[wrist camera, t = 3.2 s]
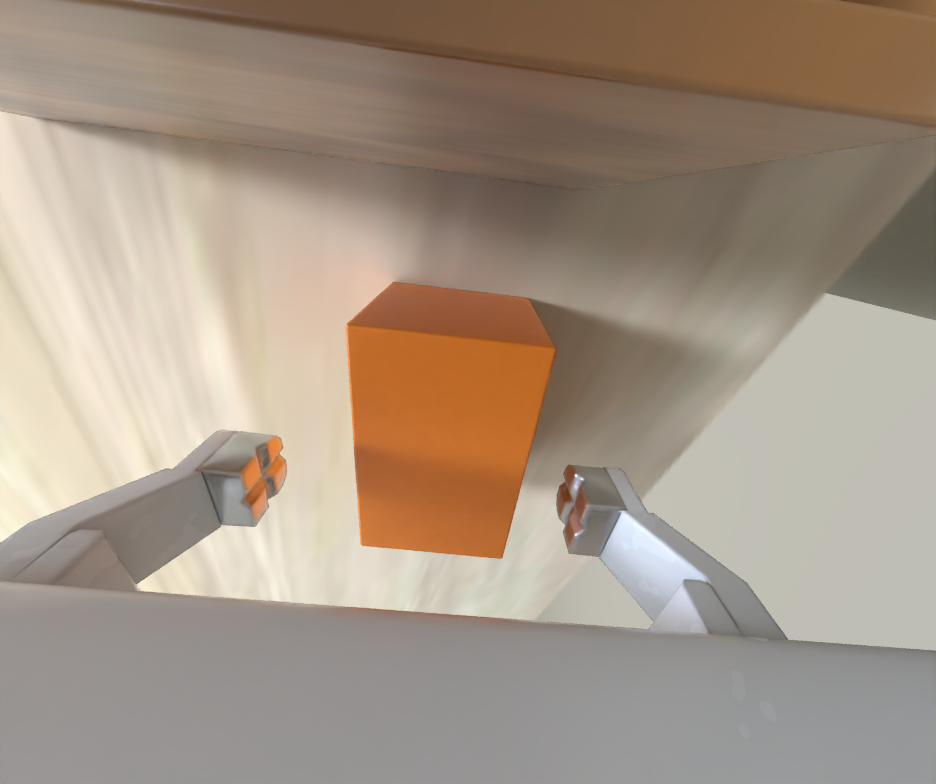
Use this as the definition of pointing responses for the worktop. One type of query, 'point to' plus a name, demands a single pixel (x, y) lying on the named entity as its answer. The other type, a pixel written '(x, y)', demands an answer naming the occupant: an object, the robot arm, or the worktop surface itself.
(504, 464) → the orange block
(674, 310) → the worktop surface
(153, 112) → the carton
